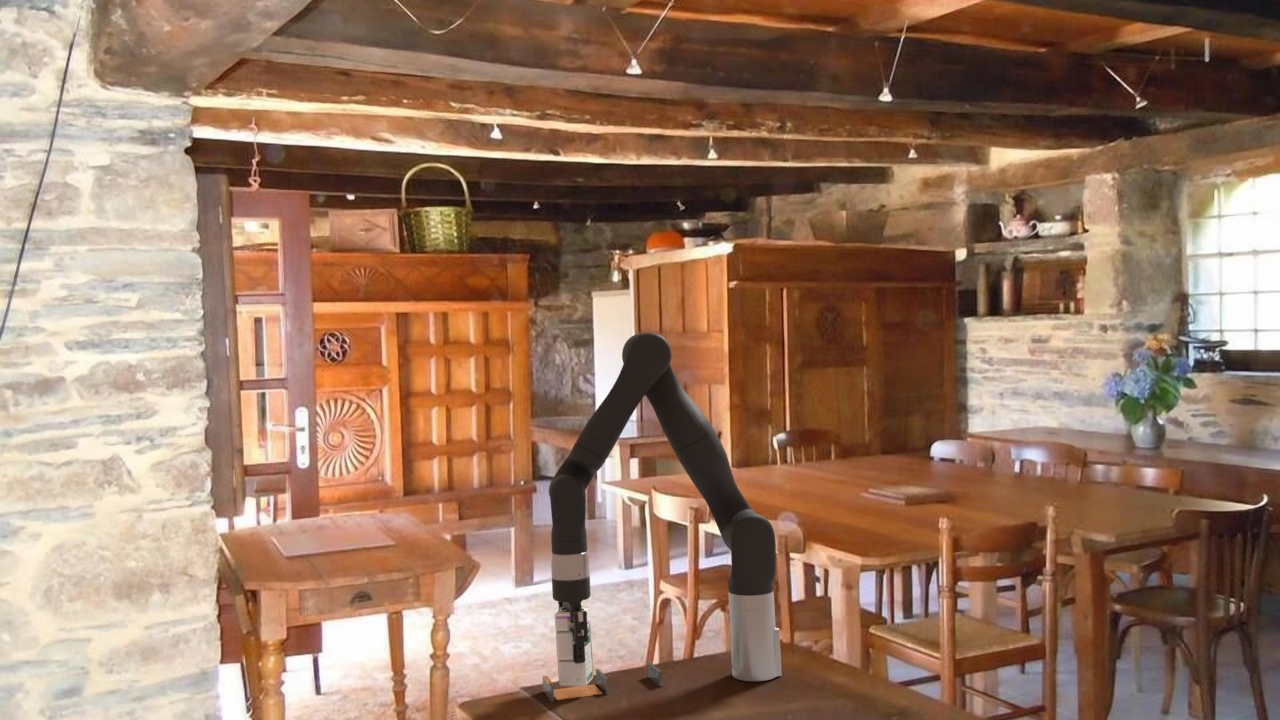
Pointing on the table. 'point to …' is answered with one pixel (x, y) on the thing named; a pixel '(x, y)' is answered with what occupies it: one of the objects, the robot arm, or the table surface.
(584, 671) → the syrup box
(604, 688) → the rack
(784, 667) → the table surface
